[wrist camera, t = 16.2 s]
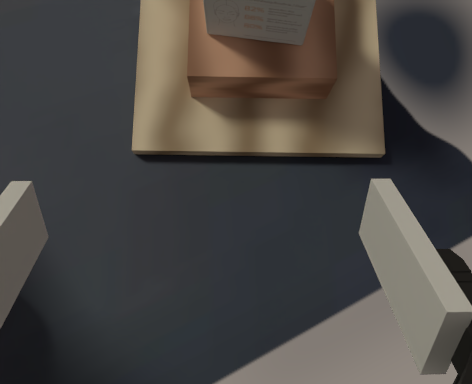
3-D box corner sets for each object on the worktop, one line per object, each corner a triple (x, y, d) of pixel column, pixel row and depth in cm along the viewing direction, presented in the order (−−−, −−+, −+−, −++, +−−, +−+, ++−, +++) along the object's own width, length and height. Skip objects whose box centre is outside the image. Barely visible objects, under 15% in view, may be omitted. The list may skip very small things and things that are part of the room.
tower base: (134, 154, 38) (119, 135, 33) (147, -59, 42) (136, -105, 37) (380, 157, 38) (403, 139, 33) (367, -55, 42) (386, -100, 37)
